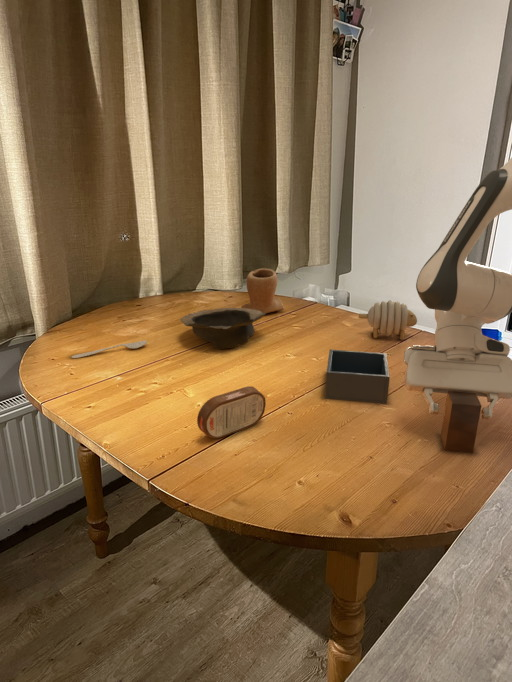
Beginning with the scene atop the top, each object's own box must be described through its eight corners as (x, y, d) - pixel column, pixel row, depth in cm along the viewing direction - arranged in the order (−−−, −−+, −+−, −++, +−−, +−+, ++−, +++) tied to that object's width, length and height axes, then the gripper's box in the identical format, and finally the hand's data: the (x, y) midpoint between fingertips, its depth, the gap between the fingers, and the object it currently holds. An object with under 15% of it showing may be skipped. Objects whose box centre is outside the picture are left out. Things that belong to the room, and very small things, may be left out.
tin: (259, 416, 106) (259, 380, 102) (268, 422, 103) (268, 385, 100) (197, 439, 97) (195, 400, 94) (205, 446, 95) (203, 407, 92)
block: (467, 438, 97) (475, 393, 94) (472, 453, 93) (481, 405, 89) (440, 436, 98) (447, 390, 95) (444, 450, 94) (452, 403, 90)
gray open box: (383, 377, 123) (386, 353, 121) (386, 403, 111) (389, 376, 108) (328, 373, 125) (329, 349, 123) (325, 398, 113) (326, 372, 111)
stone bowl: (243, 359, 133) (240, 326, 130) (166, 351, 143) (161, 320, 140) (279, 329, 154) (277, 300, 151) (208, 324, 164) (205, 296, 161)
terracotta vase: (252, 320, 164) (252, 275, 158) (237, 310, 174) (236, 268, 168) (292, 314, 170) (293, 270, 165) (275, 304, 180) (276, 263, 175)
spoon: (149, 348, 141) (148, 343, 140) (72, 360, 133) (71, 354, 132) (145, 343, 144) (145, 338, 144) (70, 355, 137) (70, 349, 136)
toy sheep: (418, 343, 144) (422, 307, 140) (359, 341, 146) (362, 305, 142) (411, 331, 154) (415, 296, 150) (356, 329, 156) (358, 295, 152)
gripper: (406, 338, 98) (405, 405, 92) (518, 345, 94) (523, 416, 89) (402, 350, 104) (400, 415, 98) (507, 358, 100) (512, 425, 95)
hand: (460, 415), depth 93 cm, fingers open, 8 cm apart
